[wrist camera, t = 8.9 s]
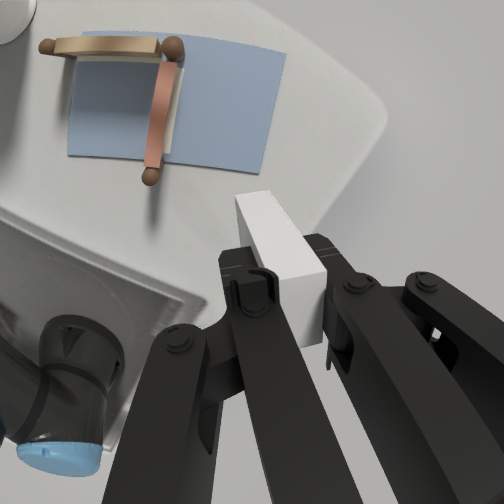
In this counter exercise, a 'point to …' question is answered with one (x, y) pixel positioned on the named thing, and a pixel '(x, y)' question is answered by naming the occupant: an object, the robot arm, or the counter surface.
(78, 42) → the brown wall panel
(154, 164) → the swing panel
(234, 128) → the card
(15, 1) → the jar
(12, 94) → the counter surface
